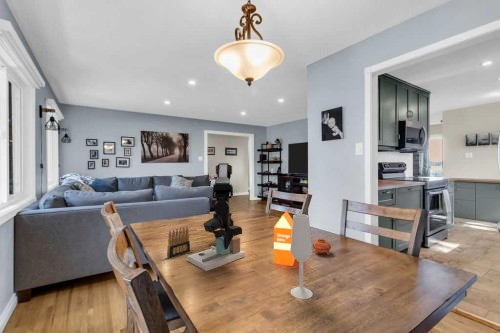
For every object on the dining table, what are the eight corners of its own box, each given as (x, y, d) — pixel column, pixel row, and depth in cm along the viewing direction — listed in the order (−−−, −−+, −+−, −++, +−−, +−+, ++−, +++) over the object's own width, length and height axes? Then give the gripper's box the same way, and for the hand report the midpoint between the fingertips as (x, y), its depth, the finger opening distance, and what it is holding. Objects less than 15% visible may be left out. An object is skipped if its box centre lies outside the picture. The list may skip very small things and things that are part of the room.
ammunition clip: (169, 258, 102) (169, 230, 102) (167, 257, 103) (166, 230, 103) (190, 251, 110) (190, 225, 110) (187, 250, 111) (187, 225, 111)
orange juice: (296, 257, 102) (295, 211, 102) (292, 265, 94) (292, 215, 94) (278, 255, 104) (277, 210, 104) (273, 263, 96) (273, 214, 96)
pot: (334, 252, 107) (333, 238, 106) (327, 261, 102) (326, 246, 101) (318, 247, 113) (317, 234, 112) (310, 255, 107) (308, 242, 106)
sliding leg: (215, 248, 107) (215, 233, 107) (229, 253, 100) (229, 238, 100) (207, 250, 104) (207, 235, 104) (222, 256, 97) (221, 240, 97)
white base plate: (224, 248, 113) (224, 232, 113) (244, 256, 103) (244, 238, 103) (187, 260, 99) (187, 241, 99) (206, 271, 89) (206, 249, 89)
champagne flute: (288, 287, 77) (287, 213, 77) (308, 286, 77) (308, 213, 77) (293, 299, 70) (293, 218, 70) (315, 298, 70) (315, 217, 70)
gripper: (194, 210, 101) (194, 247, 101) (221, 217, 88) (221, 259, 88) (215, 207, 109) (215, 241, 109) (243, 213, 95) (243, 251, 95)
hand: (222, 247), depth 100 cm, fingers closed on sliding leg, 4 cm apart
